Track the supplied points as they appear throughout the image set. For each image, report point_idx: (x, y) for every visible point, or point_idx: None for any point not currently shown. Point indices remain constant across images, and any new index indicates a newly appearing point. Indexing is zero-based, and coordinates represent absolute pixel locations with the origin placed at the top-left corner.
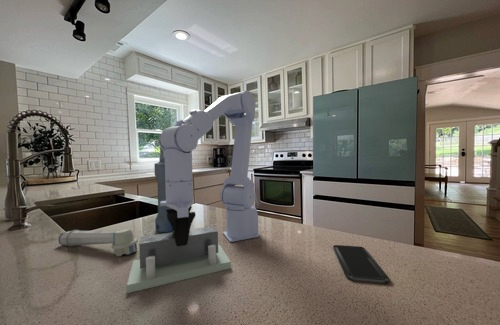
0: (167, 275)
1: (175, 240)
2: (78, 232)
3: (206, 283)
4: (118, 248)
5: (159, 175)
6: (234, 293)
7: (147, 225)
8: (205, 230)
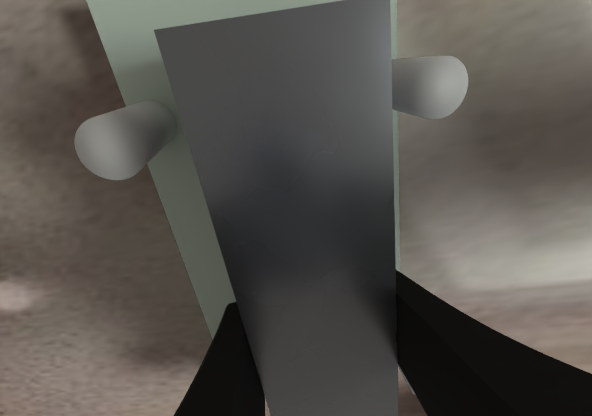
0: (165, 200)
1: (217, 334)
2: None
3: (152, 320)
4: None
5: None
6: (87, 392)
7: None
8: None
